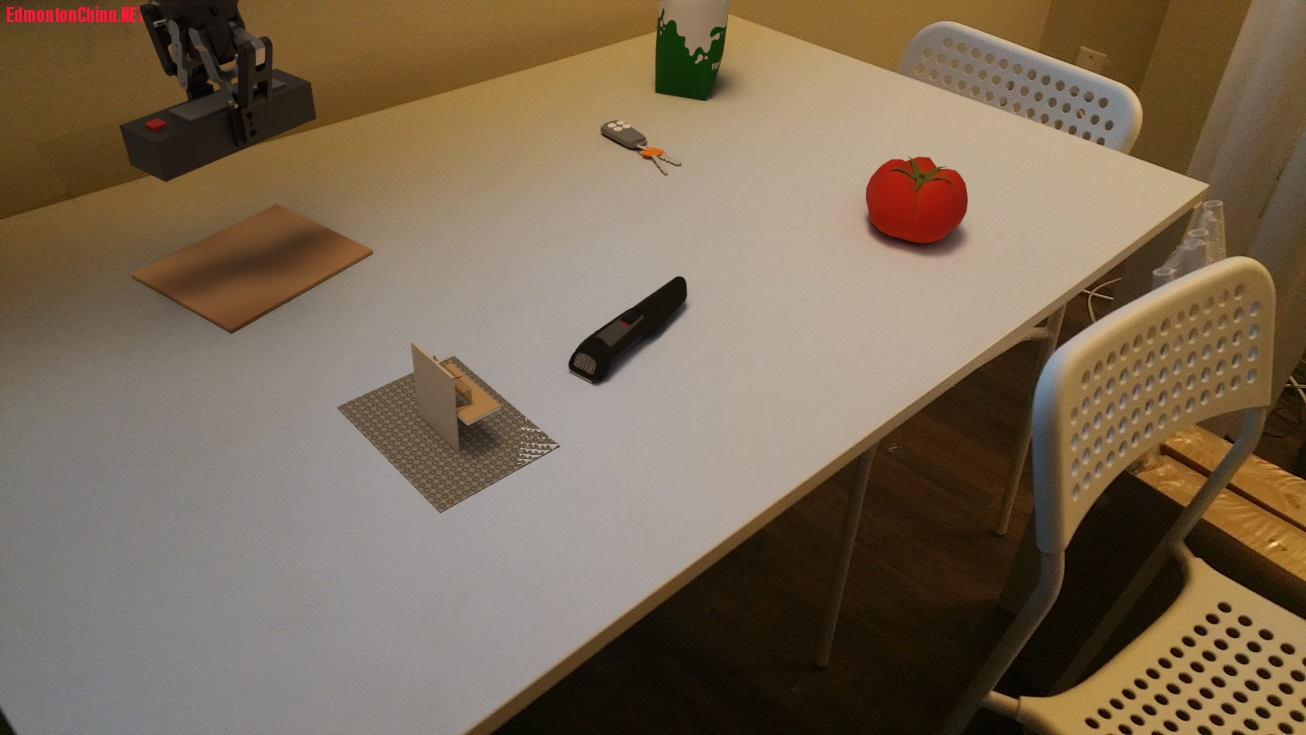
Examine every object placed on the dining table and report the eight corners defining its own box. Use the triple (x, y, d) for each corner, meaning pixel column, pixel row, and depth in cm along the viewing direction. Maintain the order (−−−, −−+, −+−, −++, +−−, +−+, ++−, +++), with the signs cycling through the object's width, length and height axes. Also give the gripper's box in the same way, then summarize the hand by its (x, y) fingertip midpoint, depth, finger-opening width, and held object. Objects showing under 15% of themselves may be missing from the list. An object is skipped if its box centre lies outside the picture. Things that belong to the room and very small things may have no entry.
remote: (165, 182, 81) (153, 138, 78) (130, 165, 83) (117, 121, 80) (316, 119, 92) (310, 78, 89) (282, 104, 93) (275, 65, 91)
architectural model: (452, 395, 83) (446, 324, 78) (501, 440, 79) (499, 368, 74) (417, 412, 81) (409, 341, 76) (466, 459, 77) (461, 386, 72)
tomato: (972, 229, 111) (991, 169, 106) (927, 266, 104) (945, 204, 99) (888, 194, 116) (903, 136, 111) (840, 228, 109) (854, 167, 104)
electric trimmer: (696, 309, 95) (699, 282, 93) (598, 387, 85) (600, 358, 83) (664, 295, 97) (667, 267, 95) (564, 369, 86) (565, 340, 84)
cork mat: (131, 277, 92) (130, 273, 92) (277, 207, 104) (276, 203, 104) (231, 333, 87) (230, 329, 87) (373, 253, 98) (372, 249, 98)
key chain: (596, 134, 123) (597, 123, 122) (619, 127, 125) (620, 116, 124) (665, 176, 115) (666, 164, 114) (688, 168, 117) (690, 156, 116)
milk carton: (661, 69, 140) (673, -80, 127) (723, 80, 139) (742, -70, 126) (646, 93, 133) (658, -62, 120) (712, 104, 132) (730, -51, 119)
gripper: (82, -79, 76) (138, 126, 87) (203, -36, 71) (247, 177, 82) (167, -96, 81) (210, 99, 92) (286, -57, 76) (318, 145, 87)
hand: (228, 134), depth 87 cm, fingers closed on remote, 4 cm apart
